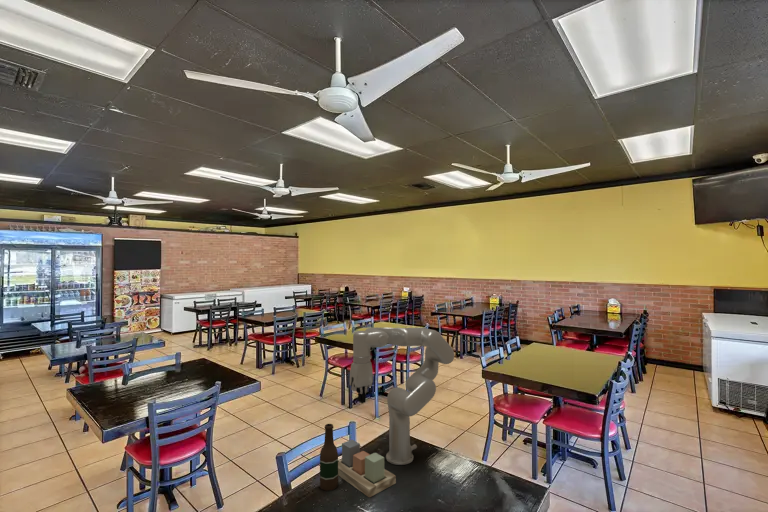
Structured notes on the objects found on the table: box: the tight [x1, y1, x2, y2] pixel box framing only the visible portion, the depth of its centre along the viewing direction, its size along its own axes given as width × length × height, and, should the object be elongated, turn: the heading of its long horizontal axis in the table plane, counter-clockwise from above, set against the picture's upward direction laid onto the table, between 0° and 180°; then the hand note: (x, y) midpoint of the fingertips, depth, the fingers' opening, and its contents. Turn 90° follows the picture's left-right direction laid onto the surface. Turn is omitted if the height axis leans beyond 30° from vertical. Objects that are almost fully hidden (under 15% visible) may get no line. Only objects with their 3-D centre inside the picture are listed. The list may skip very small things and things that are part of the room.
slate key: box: [341, 439, 361, 468], centre depth 158 cm, size 6×6×8 cm
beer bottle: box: [319, 423, 339, 492], centre depth 146 cm, size 8×8×24 cm
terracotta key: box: [352, 450, 371, 476], centre depth 152 cm, size 6×6×8 cm
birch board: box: [338, 458, 397, 498], centre depth 152 cm, size 14×26×3 cm, turn 42°
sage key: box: [365, 452, 385, 484], centre depth 146 cm, size 6×6×8 cm
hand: (361, 401), depth 158 cm, fingers closed
